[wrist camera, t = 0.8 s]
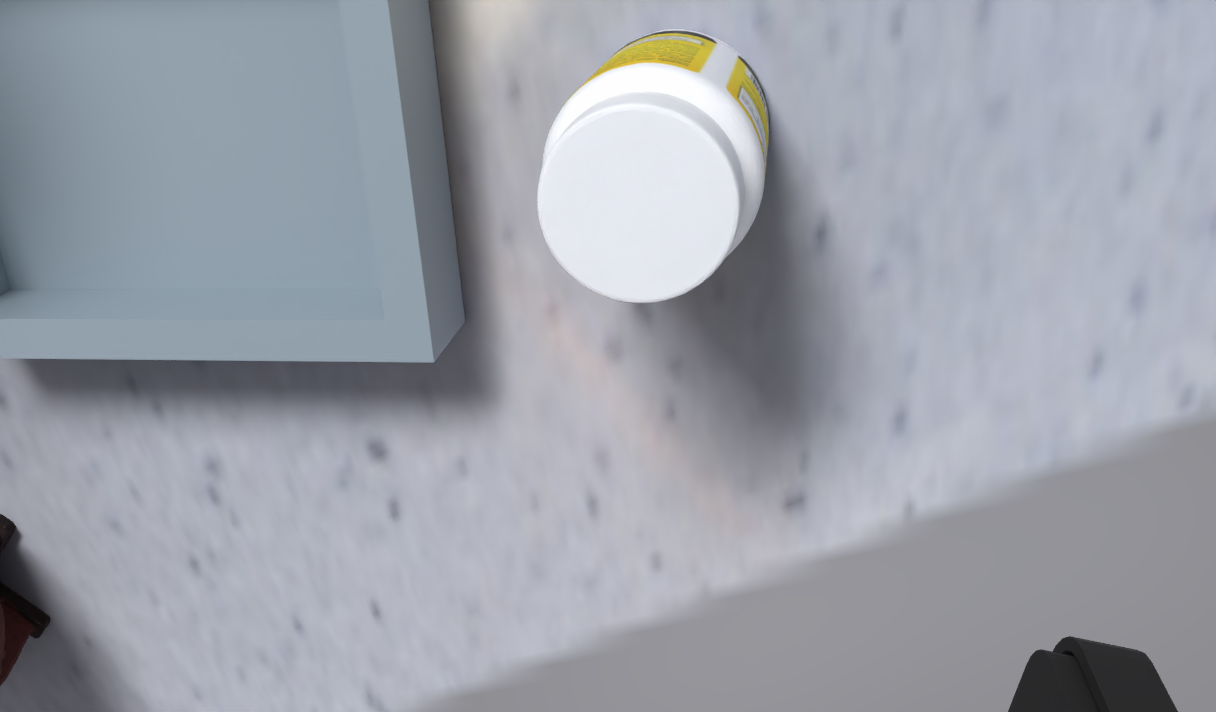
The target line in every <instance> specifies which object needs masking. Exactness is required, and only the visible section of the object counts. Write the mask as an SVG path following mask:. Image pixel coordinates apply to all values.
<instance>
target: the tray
mask: <svg viewBox="0 0 1216 712" xmlns="http://www.w3.org/2000/svg"><path fill="white" fill-rule="evenodd" d="M464 323H465V315H464V306H463V298H462V289H461V280H460V271H459V263H458V254H457V245H456V236H455V228H454V219H453V210H452V202H451V193H450V184H449V175H448V167H447V158H446V149H445V141H444V132H443V123H442V114H441V106H440V97H439V88H438V79H437V71H436V62H435V53H434V45H433V36H432V27H431V18H430V10H429V1H428V0H0V358H9V359H114V360H219V361H325V362H430V363H434V362H435V361H436V359H437V358H438V357H439V355H440V354H441V353H442V352H443V350H444V349H445V348H446V346H447V345H448V344H449V343H450V341H451V340H452V339H453V337H454V336H455V335H456V333H457V332H458V331H459V330H460V328H461V327H462V326H463V324H464Z"/></svg>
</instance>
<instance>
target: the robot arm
mask: <svg viewBox="0 0 1216 712" xmlns="http://www.w3.org/2000/svg"><path fill="white" fill-rule="evenodd" d="M1008 712H1178V711H1177V709H1176V707H1175V705H1174V704H1173V702H1172V700H1171V698H1170V696H1169V694H1168V692H1167V690H1166V688H1165V687H1164V684H1163V683H1162V681H1161V679H1160V677H1159V675H1158V673H1157V671H1156V669H1155V667H1154V665H1153V663H1152V662H1151V660H1149V658H1148V657H1147V655H1146V654H1145V653H1143V652H1141V651H1138V650H1134V649H1129V648H1125V647H1119V646H1115V645H1110V644H1105V643H1100V642H1095V641H1089V640H1085V639H1080V638H1074V637H1066V638H1063V639H1062V640H1061V641H1060V642H1059V643H1058V644H1057V645H1056V646H1055V648H1054V650H1053V652H1050V651H1046V650H1037V651H1035V652H1034V653H1033V654H1032V656H1031V657H1030V659H1029V661H1028V663H1027V665H1026V667H1025V670H1024V673H1023V675H1022V678H1021V680H1020V683H1019V685H1018V688H1017V690H1016V693H1015V695H1014V698H1013V701H1012V703H1011V706H1010V708H1009V711H1008Z"/></svg>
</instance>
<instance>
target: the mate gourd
mask: <svg viewBox="0 0 1216 712" xmlns="http://www.w3.org/2000/svg"><path fill="white" fill-rule="evenodd" d="M15 527H16V526H15V525H14V523H13V522H12V521H10V520H9V519H7V518H6V517H5V516H3V515H1V514H0V553H1V552H2V550H3V549H4V547H5V545H6V544H7V542H8V540H9V539H10V537H11V536H12V534H13V531H14V529H15ZM49 622H50V617H49V616H48V615H46V614H45V613H44V612H42V611H41V610H40V609H38V608H37V607H35V606H34V605H33V604H31V603H30V602H28V601H27V600H25V599H24V598H22V597H21V596H20V595H18V594H17V593H15V592H14V591H12V590H11V589H9V588H8V587H7V586H5V585H4V584H2V583H1V582H0V686H1V685H2V683H3V682H4V681H5V680H6V678H7V677H8V675H9V673H10V671H11V669H12V668H13V666H14V664H15V662H16V660H17V658H18V656H19V654H20V652H21V650H22V648H23V646H24V644H25V642H26V640H27V639H28V637H29V635H31V636H32V637H34V638H38V637H40V636H41V634H42V632H43V631H44V629H45V628H46V627H47V625H48V624H49Z"/></svg>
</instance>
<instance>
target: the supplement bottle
mask: <svg viewBox="0 0 1216 712" xmlns="http://www.w3.org/2000/svg"><path fill="white" fill-rule="evenodd" d="M769 125H770V118H769V109H768V103H767V99H766V95H765V92H764V89H763V87H762V84H761V82H760V80H759V78H758V76H757V75H756V73H755V71H754V70H753V69H752V67H751V66H750V64H749V63H748V62H747V61H746V60H745V59H744V58H743V57H742V56H741V55H740V54H739V53H738V52H737V51H736V50H734V49H733V48H732V47H731V46H729V45H727V44H726V43H724V42H722V41H721V40H719V39H716V38H714V37H712V36H709V35H706V34H703V33H700V32H696V31H691V30H683V29H670V30H662V31H657V32H653V33H650V34H647V35H644V36H642V37H639V38H637V39H635V40H634V41H632V42H630V43H628V44H627V45H626V46H624V47H623V48H621V49H620V50H619V51H617V52H616V53H615V54H614V55H613V56H612V57H611V58H610V59H609V60H608V61H607V62H606V63H605V64H604V65H603V66H602V67H601V68H599V69H598V70H597V71H596V72H595V73H594V74H593V75H592V76H591V77H590V78H589V79H588V80H587V81H586V82H585V83H584V84H583V85H582V86H581V87H580V88H579V89H578V90H577V91H576V92H575V93H574V94H573V95H572V96H571V97H570V98H569V99H568V100H567V102H566V103H565V104H564V106H563V107H562V109H561V110H560V112H559V113H558V115H557V117H556V119H555V120H554V122H553V124H552V126H551V129H550V132H549V134H548V138H547V141H546V144H545V148H544V153H543V162H542V171H541V175H540V179H539V185H538V192H537V210H538V217H539V222H540V227H541V230H542V232H543V235H544V238H545V240H546V242H547V245H548V247H549V249H550V251H551V252H552V254H553V255H554V257H555V258H556V260H557V261H558V262H559V264H560V265H561V266H562V267H563V268H564V270H565V271H566V272H567V273H568V274H569V275H571V276H572V277H573V278H574V279H575V280H576V281H578V282H579V283H581V284H582V285H583V286H585V287H586V288H588V289H590V290H592V291H594V292H595V293H597V294H600V295H602V296H605V297H608V298H611V299H614V300H618V301H622V302H628V303H654V302H660V301H666V300H669V299H672V298H675V297H678V296H680V295H683V294H685V293H687V292H689V291H690V290H692V289H694V288H695V287H697V286H699V285H700V284H701V283H703V282H704V281H705V280H706V279H708V278H709V277H710V276H711V275H712V274H713V273H714V272H715V271H716V270H717V268H718V267H719V266H720V265H721V264H722V262H723V261H724V259H725V258H726V257H727V256H728V255H729V254H730V253H731V252H732V251H733V250H734V249H735V248H736V247H737V246H738V245H739V243H740V242H741V241H742V240H743V238H744V237H745V235H746V234H747V232H748V231H749V229H750V227H751V225H752V224H753V222H754V220H755V217H756V215H757V213H758V210H759V207H760V204H761V200H762V196H763V190H764V182H765V171H766V161H767V151H768V138H769Z"/></svg>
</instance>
